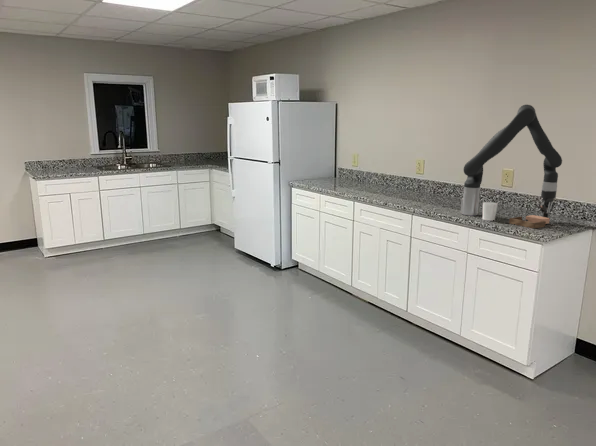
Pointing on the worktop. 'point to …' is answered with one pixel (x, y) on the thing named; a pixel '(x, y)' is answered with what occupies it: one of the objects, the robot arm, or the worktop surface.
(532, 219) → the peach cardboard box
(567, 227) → the worktop surface
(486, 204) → the white cup
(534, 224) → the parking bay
